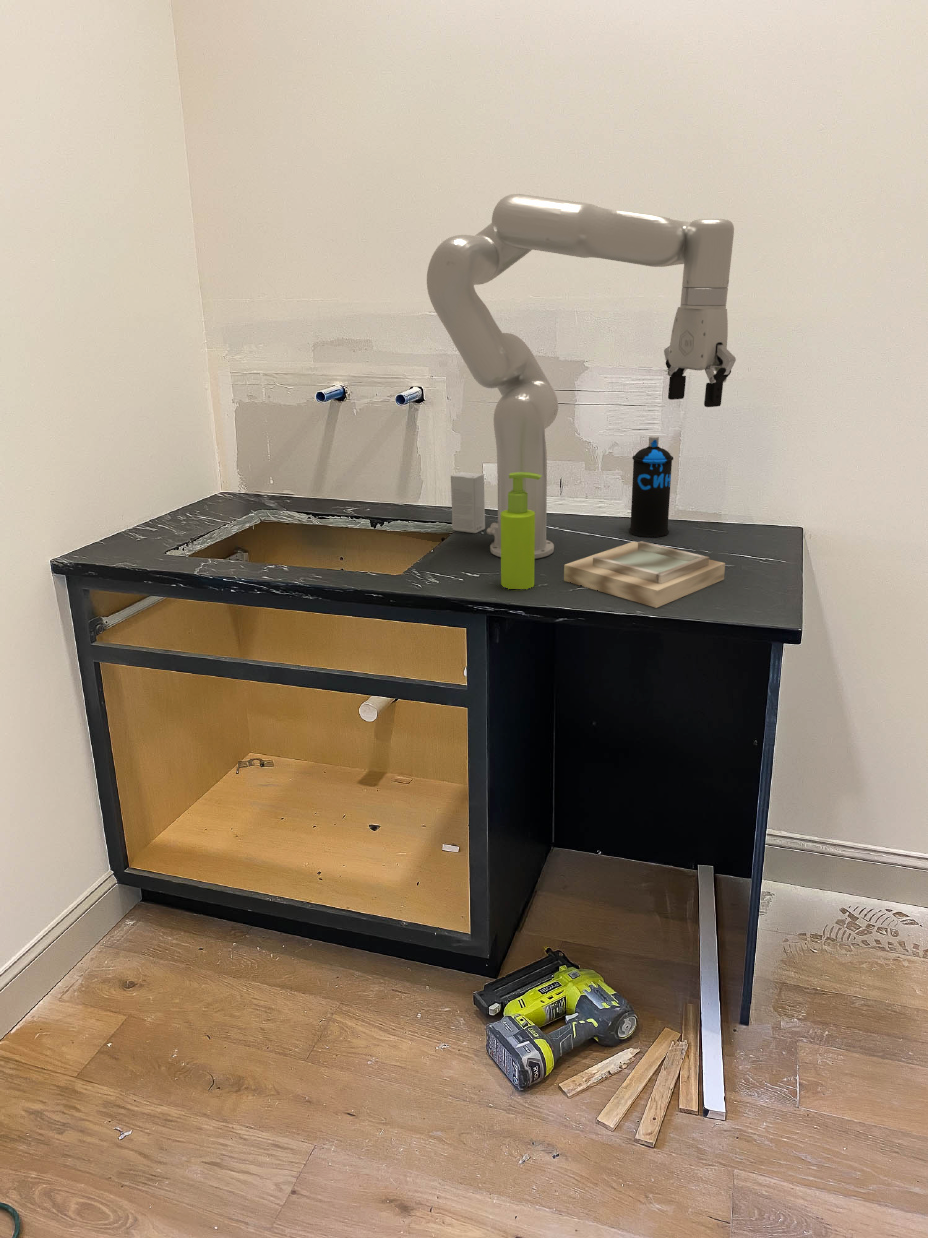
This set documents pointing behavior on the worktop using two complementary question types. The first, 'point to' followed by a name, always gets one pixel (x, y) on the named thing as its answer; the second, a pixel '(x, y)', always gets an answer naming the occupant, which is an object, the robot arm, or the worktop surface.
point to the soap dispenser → (518, 537)
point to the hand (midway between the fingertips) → (693, 402)
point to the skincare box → (468, 502)
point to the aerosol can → (651, 490)
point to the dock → (645, 573)
